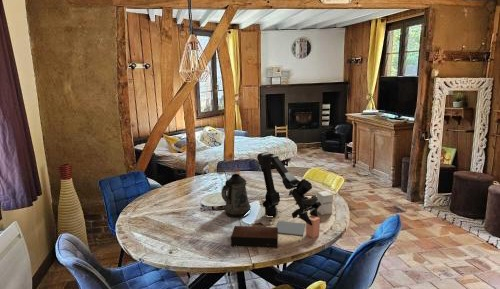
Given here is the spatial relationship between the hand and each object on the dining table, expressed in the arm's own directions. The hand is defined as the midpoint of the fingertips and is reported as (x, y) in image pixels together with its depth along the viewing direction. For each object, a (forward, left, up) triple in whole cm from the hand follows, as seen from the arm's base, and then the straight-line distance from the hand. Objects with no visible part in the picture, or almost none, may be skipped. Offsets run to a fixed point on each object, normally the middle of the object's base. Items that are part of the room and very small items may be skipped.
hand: (315, 223), depth 178 cm
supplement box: (+4, +33, -7) cm, 34 cm away
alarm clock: (-30, -13, -8) cm, 33 cm away
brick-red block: (-1, +1, -7) cm, 7 cm away
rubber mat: (-14, +6, -7) cm, 17 cm away
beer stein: (-49, +19, -7) cm, 53 cm away
